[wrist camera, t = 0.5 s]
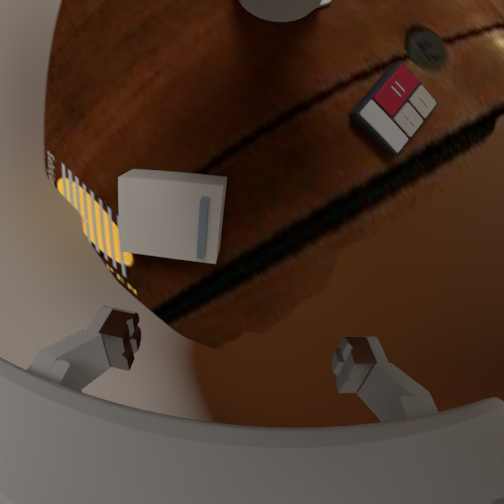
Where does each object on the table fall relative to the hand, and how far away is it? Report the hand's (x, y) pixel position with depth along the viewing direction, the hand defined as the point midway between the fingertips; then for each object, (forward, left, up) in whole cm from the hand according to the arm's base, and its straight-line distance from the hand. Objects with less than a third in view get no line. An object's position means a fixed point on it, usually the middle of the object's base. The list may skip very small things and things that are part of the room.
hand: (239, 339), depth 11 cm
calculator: (-15, +24, -43) cm, 52 cm away
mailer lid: (+10, -13, -36) cm, 40 cm away
